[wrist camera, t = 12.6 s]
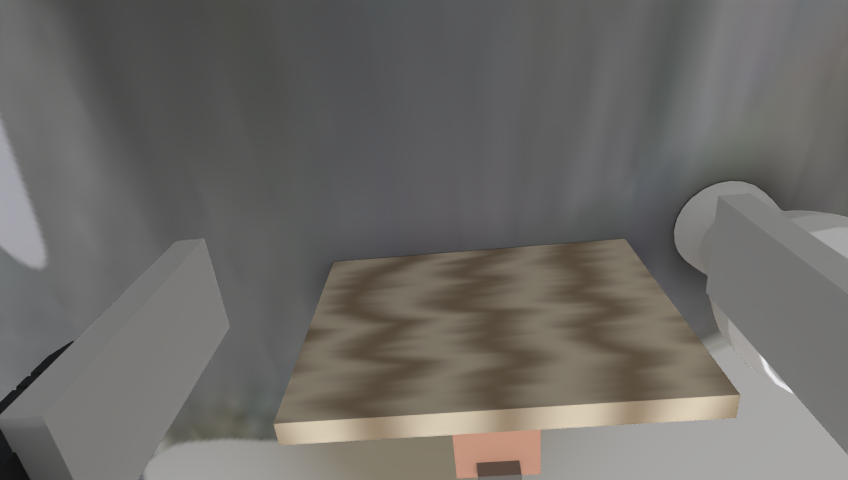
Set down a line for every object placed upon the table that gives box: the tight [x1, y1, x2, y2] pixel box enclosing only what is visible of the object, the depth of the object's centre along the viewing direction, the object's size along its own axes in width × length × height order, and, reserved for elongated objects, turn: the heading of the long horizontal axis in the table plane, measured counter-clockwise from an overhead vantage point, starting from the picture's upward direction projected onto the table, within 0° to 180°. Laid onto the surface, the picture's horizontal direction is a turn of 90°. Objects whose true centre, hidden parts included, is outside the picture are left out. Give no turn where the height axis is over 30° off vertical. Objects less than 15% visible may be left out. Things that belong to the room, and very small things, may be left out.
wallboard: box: [274, 239, 740, 445], centre depth 39 cm, size 24×5×19 cm, turn 96°
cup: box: [674, 181, 848, 393], centre depth 38 cm, size 11×11×15 cm
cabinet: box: [453, 430, 541, 480], centre depth 41 cm, size 6×10×9 cm, turn 5°
